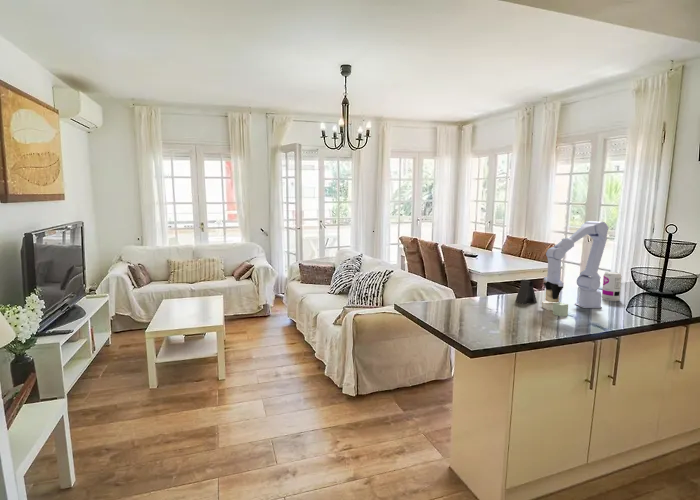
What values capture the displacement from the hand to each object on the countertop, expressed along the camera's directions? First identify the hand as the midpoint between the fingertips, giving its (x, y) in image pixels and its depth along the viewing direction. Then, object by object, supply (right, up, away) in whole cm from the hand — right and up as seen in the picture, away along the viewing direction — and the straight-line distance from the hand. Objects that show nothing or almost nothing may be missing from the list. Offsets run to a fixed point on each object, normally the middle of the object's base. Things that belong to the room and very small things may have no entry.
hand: (552, 297), depth 198 cm
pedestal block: (0, -6, +1) cm, 6 cm away
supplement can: (+41, -4, +18) cm, 45 cm away
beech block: (0, -2, 0) cm, 2 cm away
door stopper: (-7, -4, +13) cm, 16 cm away
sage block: (-2, -7, -10) cm, 13 cm away
